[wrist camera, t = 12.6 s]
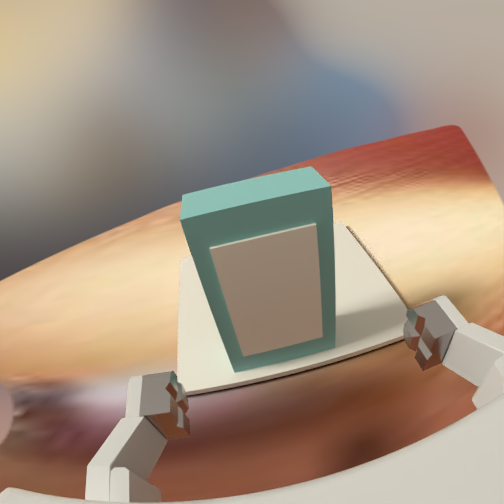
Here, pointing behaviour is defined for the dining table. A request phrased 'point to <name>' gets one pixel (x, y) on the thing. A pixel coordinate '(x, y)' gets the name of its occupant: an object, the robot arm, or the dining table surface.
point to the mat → (346, 345)
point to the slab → (266, 264)
